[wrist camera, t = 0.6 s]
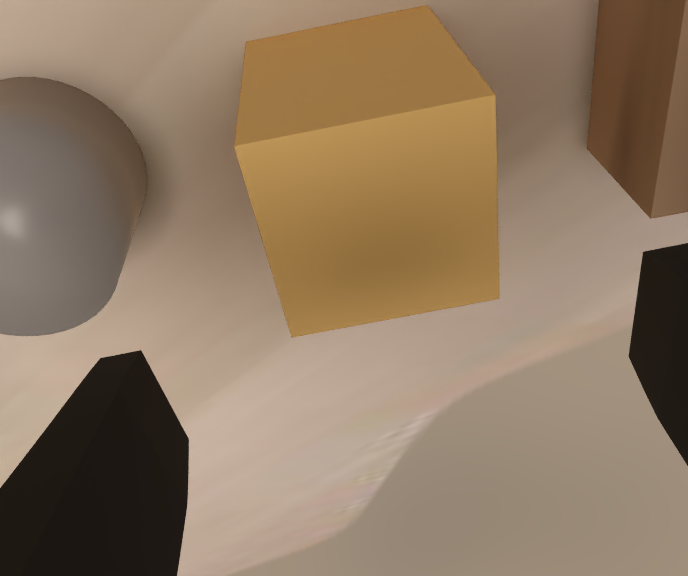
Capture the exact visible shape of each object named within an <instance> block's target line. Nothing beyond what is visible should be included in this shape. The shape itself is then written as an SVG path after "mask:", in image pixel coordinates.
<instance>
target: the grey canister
mask: <svg viewBox="0 0 688 576" xmlns="http://www.w3.org/2000/svg"><path fill="white" fill-rule="evenodd" d="M146 190H147V171H146V165H145V161H144V158H143V155H142V152H141V150H140V147H139V145H138V143H137V141H136V140H135V138H134V136H133V135H132V133H131V132H130V130H129V129H128V128H127V126H126V125H125V124H124V123H123V121H122V120H121V119H120V118H119V117H118V116H117V115H116V114H115V113H114V112H113V111H112V110H110V109H109V108H108V107H107V106H105V105H104V104H103V103H102V102H100V101H99V100H97V99H96V98H94V97H92V96H91V95H89V94H87V93H85V92H83V91H81V90H79V89H77V88H75V87H73V86H70V85H67V84H65V83H62V82H58V81H54V80H50V79H44V78H36V77H17V78H8V79H4V80H0V334H6V335H16V336H39V335H47V334H54V333H58V332H62V331H66V330H68V329H71V328H74V327H76V326H78V325H80V324H82V323H84V322H86V321H88V320H89V319H91V318H92V317H93V316H95V315H96V314H97V313H98V312H99V311H100V310H101V309H102V308H104V306H105V305H106V304H107V302H108V301H109V300H110V298H111V296H112V294H113V292H114V291H115V288H116V285H117V282H118V279H119V276H120V273H121V270H122V267H123V264H124V261H125V258H126V255H127V251H128V248H129V245H130V242H131V239H132V236H133V233H134V230H135V227H136V224H137V221H138V218H139V215H140V212H141V209H142V205H143V202H144V199H145V196H146Z"/></svg>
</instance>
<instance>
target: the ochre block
mask: <svg viewBox="0 0 688 576" xmlns="http://www.w3.org/2000/svg"><path fill="white" fill-rule="evenodd" d="M234 148H235V151H236V155H237V158H238V161H239V165H240V168H241V171H242V175H243V178H244V181H245V185H246V188H247V191H248V195H249V198H250V201H251V205H252V208H253V211H254V214H255V218H256V221H257V224H258V228H259V231H260V234H261V238H262V241H263V244H264V248H265V251H266V254H267V258H268V261H269V264H270V268H271V271H272V274H273V278H274V281H275V284H276V287H277V291H278V294H279V297H280V301H281V304H282V307H283V311H284V314H285V317H286V321H287V324H288V327H289V331H290V334H291V337H297V336H302V335H307V334H313V333H318V332H324V331H329V330H334V329H340V328H345V327H350V326H356V325H361V324H366V323H372V322H377V321H382V320H388V319H393V318H398V317H404V316H409V315H415V314H420V313H425V312H431V311H436V310H441V309H447V308H452V307H457V306H463V305H468V304H473V303H479V302H484V301H489V300H495V299H499V248H498V197H497V146H496V95H495V93H494V92H493V91H492V89H491V88H490V87H489V85H488V84H487V83H486V81H485V80H484V79H483V78H482V76H481V75H480V74H479V72H478V71H477V70H476V68H475V67H474V66H473V64H472V63H471V62H470V61H469V59H468V58H467V57H466V55H465V54H464V53H463V51H462V50H461V49H460V47H459V46H458V45H457V44H456V42H455V41H454V40H453V38H452V37H451V36H450V34H449V33H448V32H447V30H446V29H445V28H444V27H443V25H442V24H441V23H440V21H439V20H438V19H437V17H436V16H435V15H434V13H433V12H432V11H431V9H430V8H429V7H428V6H427V5H425V6H420V7H415V8H410V9H405V10H400V11H396V12H391V13H386V14H381V15H376V16H371V17H366V18H361V19H356V20H351V21H346V22H341V23H337V24H332V25H327V26H322V27H317V28H312V29H307V30H302V31H297V32H292V33H287V34H282V35H278V36H273V37H268V38H263V39H258V40H253V41H248V42H246V48H245V57H244V65H243V74H242V82H241V91H240V99H239V108H238V116H237V125H236V133H235V142H234Z"/></svg>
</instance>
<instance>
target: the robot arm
mask: <svg viewBox="0 0 688 576" xmlns="http://www.w3.org/2000/svg"><path fill="white" fill-rule="evenodd" d="M629 358H630V360H631V362H632V365H633V367H634V369H635V371H636V373H637V376H638V378H639V380H640V382H641V384H642V387H643V389H644V391H645V393H646V395H647V397H648V399H649V401H650V403H651V405H652V407H653V409H654V411H655V414H656V415H657V418H658V419H659V421H660V423H661V424H662V426H663V427H664V429H665V431H666V432H667V434H668V435H669V437H670V439H671V440H672V442H673V443H674V445H675V446H676V448H677V449H678V451H679V453H680V454H681V456H682V457H683V459H684V461H685V462H686V464H687V465H688V243H686V244H681V245H676V246H671V247H666V248H660V249H655V250H650V251H645V252H643V257H642V264H641V272H640V279H639V286H638V293H637V300H636V308H635V315H634V322H633V329H632V336H631V344H630V351H629ZM188 459H189V439H188V437H187V435H186V433H185V431H184V430H183V428H182V426H181V424H180V422H179V420H178V418H177V416H176V415H175V413H174V411H173V409H172V407H171V405H170V403H169V402H168V400H167V398H166V396H165V394H164V392H163V390H162V389H161V387H160V385H159V383H158V381H157V379H156V377H155V375H154V374H153V372H152V370H151V368H150V366H149V364H148V362H147V361H146V359H145V357H144V355H143V353H142V351H141V350H140V351H135V352H130V353H125V354H120V355H115V356H110V357H105V358H100V360H99V361H98V362H97V363H96V364H95V366H94V367H93V368H92V369H91V370H90V372H89V373H88V374H87V376H86V377H85V378H84V379H83V381H82V382H81V383H80V385H79V386H78V387H77V389H76V390H75V391H74V393H73V394H72V395H71V397H70V398H69V399H68V401H67V402H66V403H65V404H64V406H63V407H62V408H61V410H60V411H59V412H58V414H57V415H56V416H55V418H54V419H53V420H52V422H51V423H50V424H49V426H48V427H47V428H46V430H45V431H44V432H43V434H42V435H41V436H40V438H39V439H38V440H37V441H36V443H35V444H34V445H33V447H32V448H31V449H30V451H29V452H28V453H27V454H26V456H25V457H24V458H23V460H22V461H21V462H20V463H19V465H18V466H17V467H16V469H15V470H14V471H13V473H12V474H11V475H10V476H9V478H8V479H7V480H6V482H5V483H4V484H3V485H2V487H1V488H0V576H177V571H178V565H179V558H180V551H181V545H182V538H183V531H184V524H185V517H186V510H187V498H188Z"/></svg>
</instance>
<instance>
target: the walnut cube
mask: <svg viewBox="0 0 688 576" xmlns="http://www.w3.org/2000/svg"><path fill="white" fill-rule="evenodd" d="M587 149H588V150H589V151H590V152H591V154H592V155H593V156H594V157H595V158H596V159H597V160H598V161H599V162H600V163H601V165H602V166H603V167H604V168H605V169H606V170H607V171H608V172H609V173H610V174H611V176H612V177H613V178H614V179H615V180H616V181H617V182H618V183H619V184H620V185H621V187H622V188H623V189H624V190H625V191H626V192H627V193H628V194H629V195H630V197H631V198H632V199H633V200H634V201H635V202H636V203H637V204H638V205H639V206H640V208H641V209H642V210H643V211H644V212H645V213H646V214H647V215H648V216H649V217H650V219H651V218H657V217H662V216H667V215H673V214H678V213H684V212H688V0H599V8H598V20H597V32H596V44H595V57H594V69H593V81H592V93H591V106H590V118H589V130H588V142H587Z"/></svg>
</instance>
